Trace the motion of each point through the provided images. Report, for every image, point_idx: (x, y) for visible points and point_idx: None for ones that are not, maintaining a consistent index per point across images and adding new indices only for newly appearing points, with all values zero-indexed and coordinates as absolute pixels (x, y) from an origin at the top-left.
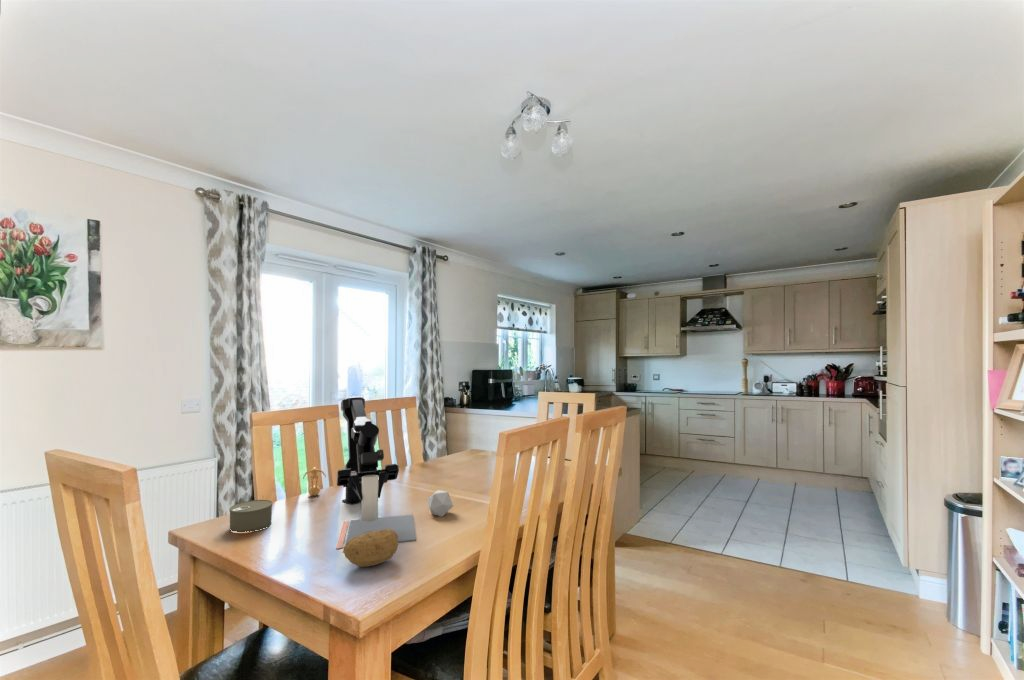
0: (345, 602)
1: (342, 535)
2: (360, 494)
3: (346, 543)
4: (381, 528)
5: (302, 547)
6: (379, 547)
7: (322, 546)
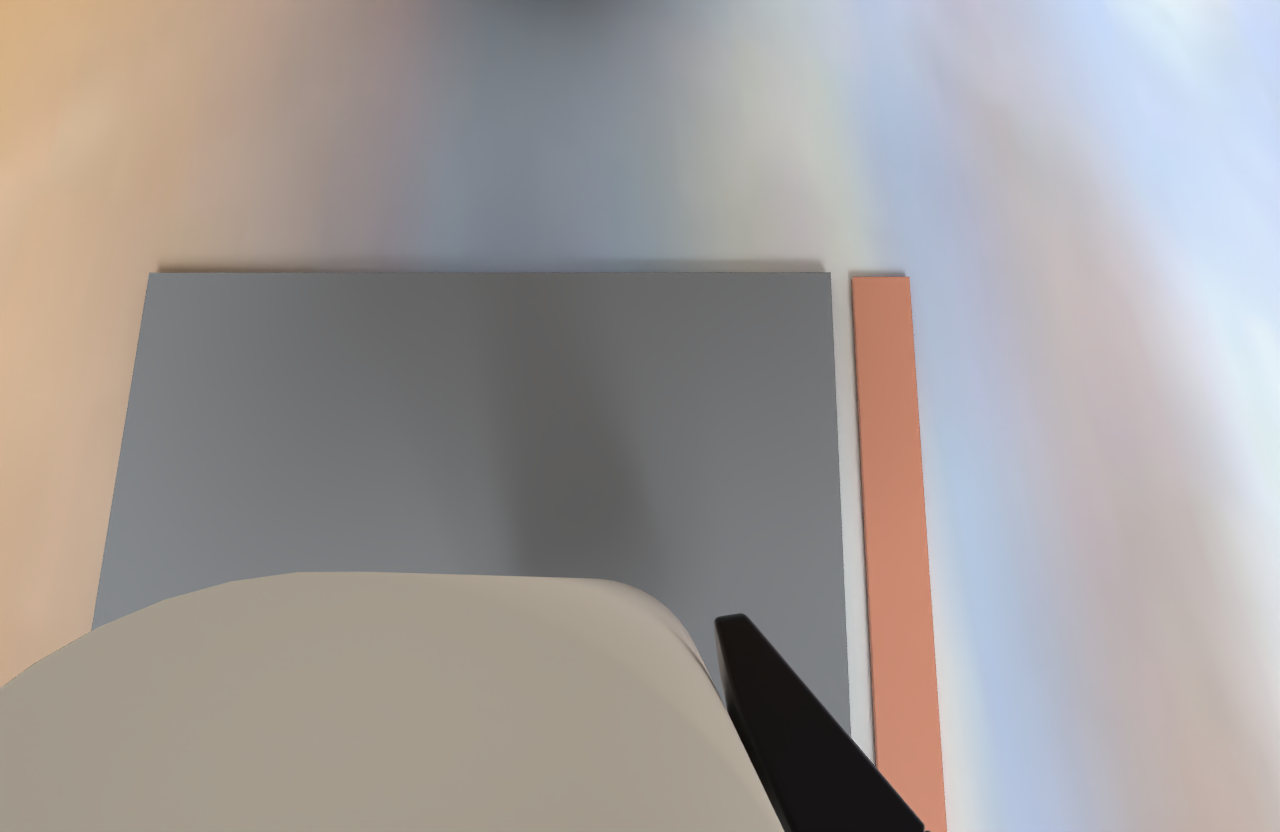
0: None
1: (901, 615)
2: (772, 678)
3: (824, 351)
4: None
5: (1261, 416)
6: None
7: (1058, 386)
